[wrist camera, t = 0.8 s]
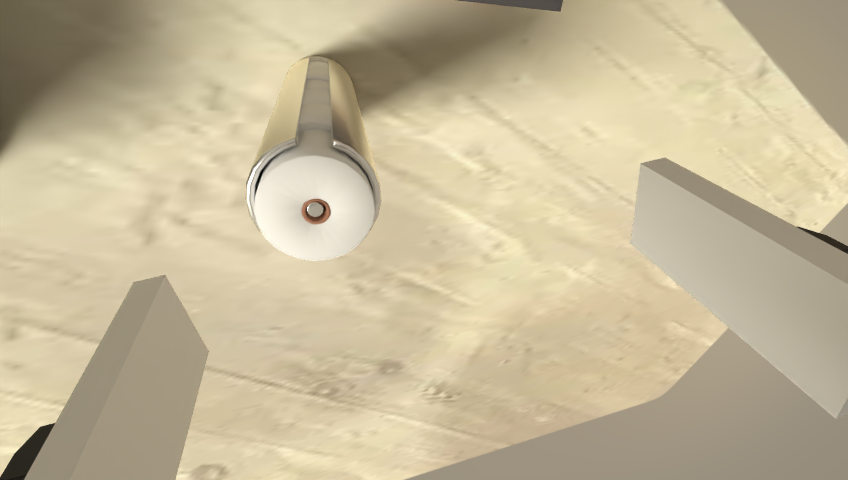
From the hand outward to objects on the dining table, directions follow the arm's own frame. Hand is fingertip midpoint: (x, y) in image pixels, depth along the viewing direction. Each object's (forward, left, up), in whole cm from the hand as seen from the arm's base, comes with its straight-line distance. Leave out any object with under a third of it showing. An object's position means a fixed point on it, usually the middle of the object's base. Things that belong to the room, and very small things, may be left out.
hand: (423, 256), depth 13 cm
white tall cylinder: (-3, -3, -34) cm, 35 cm away
